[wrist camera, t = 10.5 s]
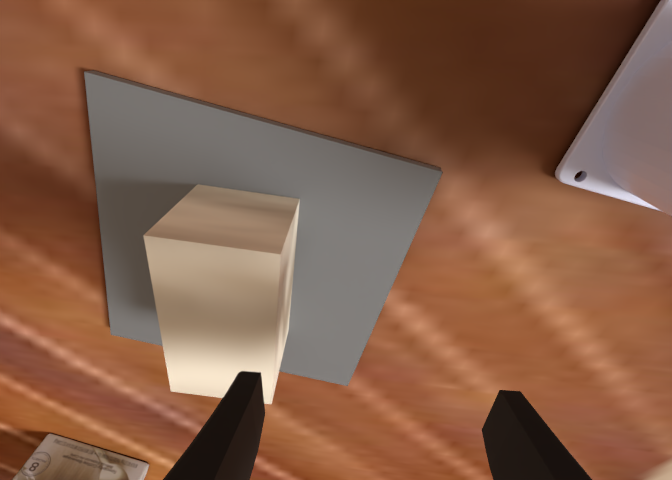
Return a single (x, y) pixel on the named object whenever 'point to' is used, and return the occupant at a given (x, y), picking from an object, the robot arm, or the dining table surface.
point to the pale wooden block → (223, 286)
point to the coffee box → (78, 463)
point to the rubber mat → (260, 177)
